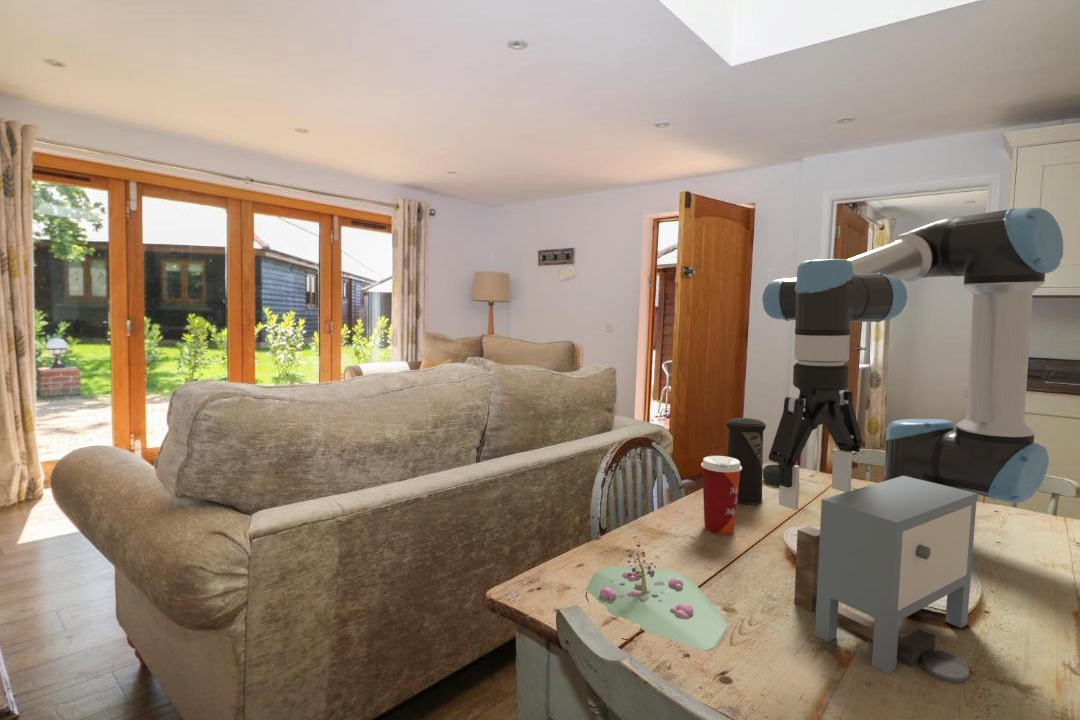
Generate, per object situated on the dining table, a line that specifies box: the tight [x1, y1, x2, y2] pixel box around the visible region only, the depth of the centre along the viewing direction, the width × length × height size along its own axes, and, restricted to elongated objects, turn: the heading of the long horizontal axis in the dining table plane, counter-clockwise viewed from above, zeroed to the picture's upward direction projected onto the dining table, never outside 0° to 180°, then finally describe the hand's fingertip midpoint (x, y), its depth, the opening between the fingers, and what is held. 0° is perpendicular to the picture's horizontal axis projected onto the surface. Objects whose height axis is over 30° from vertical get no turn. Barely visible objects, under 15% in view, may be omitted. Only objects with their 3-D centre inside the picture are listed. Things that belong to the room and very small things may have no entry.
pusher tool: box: [793, 525, 936, 668], centre depth 82 cm, size 18×6×12 cm, turn 31°
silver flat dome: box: [920, 649, 970, 684], centre depth 73 cm, size 5×5×2 cm
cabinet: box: [814, 476, 978, 674], centre depth 81 cm, size 22×11×20 cm, turn 121°
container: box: [725, 417, 767, 505], centre depth 137 cm, size 9×9×20 cm
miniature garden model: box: [586, 543, 728, 651], centre depth 89 cm, size 25×21×9 cm
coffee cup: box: [700, 455, 742, 536], centre depth 119 cm, size 8×8×15 cm
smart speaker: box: [762, 464, 779, 487], centre depth 152 cm, size 9×9×4 cm
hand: (815, 498), depth 87 cm, fingers open, 13 cm apart
